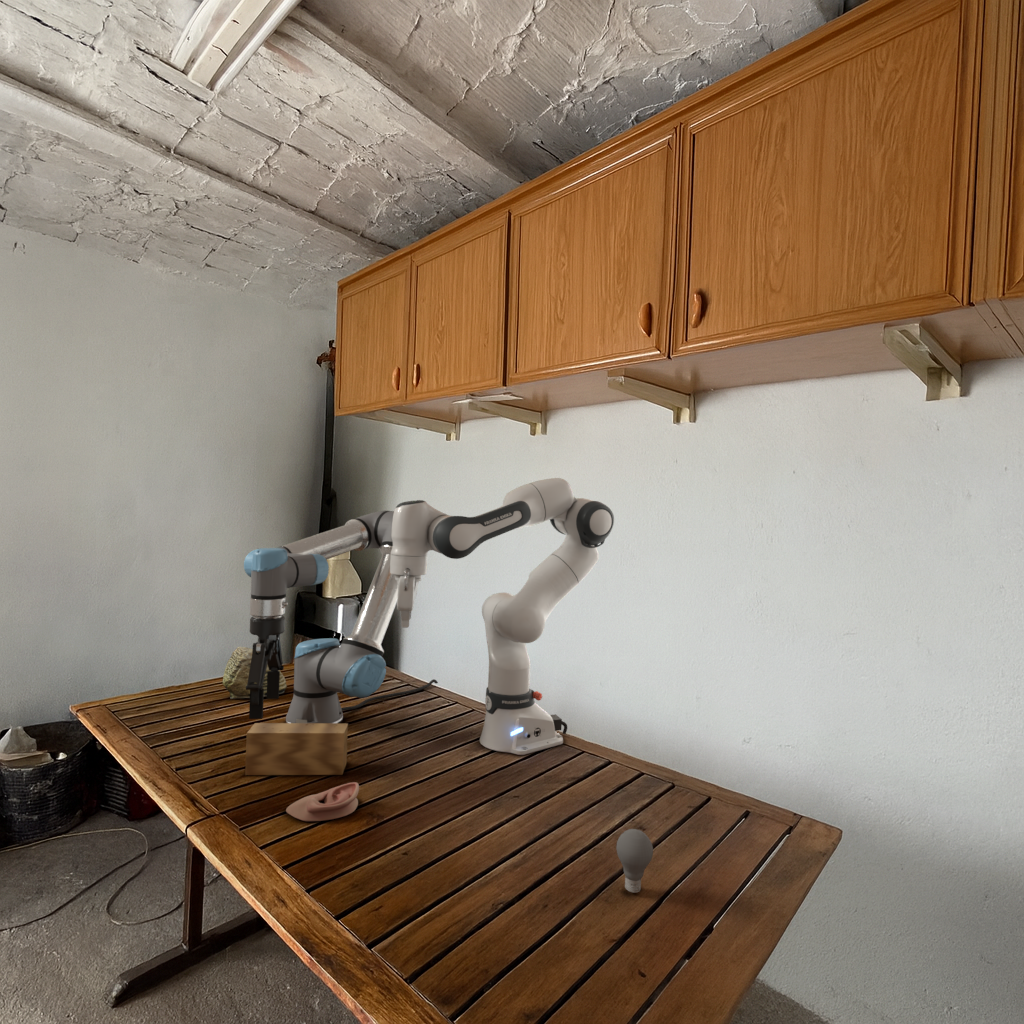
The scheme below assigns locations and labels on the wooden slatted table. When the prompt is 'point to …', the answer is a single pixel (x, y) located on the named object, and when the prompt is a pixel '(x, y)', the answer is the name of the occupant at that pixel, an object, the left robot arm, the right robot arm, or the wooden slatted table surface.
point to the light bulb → (634, 857)
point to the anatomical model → (326, 804)
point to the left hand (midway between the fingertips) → (264, 708)
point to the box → (296, 749)
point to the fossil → (244, 674)
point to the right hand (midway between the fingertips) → (406, 623)
